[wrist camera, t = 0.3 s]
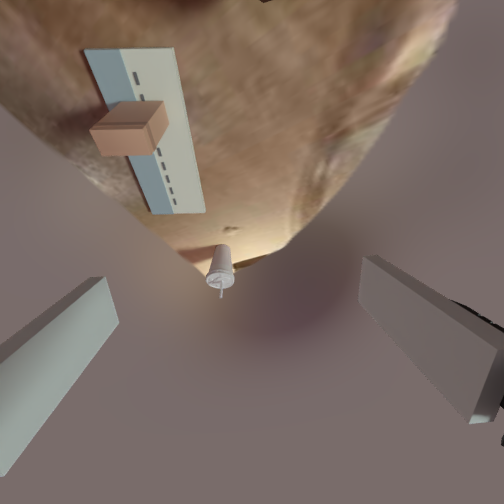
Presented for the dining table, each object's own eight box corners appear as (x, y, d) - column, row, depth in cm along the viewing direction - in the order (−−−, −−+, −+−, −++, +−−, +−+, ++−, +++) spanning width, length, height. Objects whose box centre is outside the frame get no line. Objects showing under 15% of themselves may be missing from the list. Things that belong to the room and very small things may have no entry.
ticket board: (87, 48, 30) (82, 49, 29) (173, 47, 30) (171, 48, 29) (153, 210, 49) (152, 214, 48) (205, 209, 49) (205, 213, 48)
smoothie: (240, 253, 60) (238, 301, 50) (218, 260, 62) (213, 308, 52) (227, 237, 55) (224, 287, 46) (205, 245, 57) (197, 294, 48)
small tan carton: (120, 101, 33) (88, 129, 26) (163, 100, 33) (142, 128, 26) (129, 124, 35) (101, 156, 28) (169, 124, 35) (152, 155, 28)
